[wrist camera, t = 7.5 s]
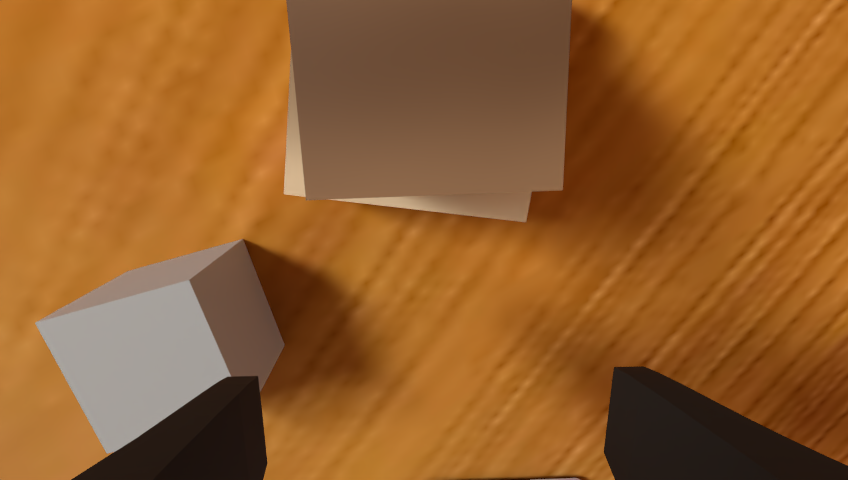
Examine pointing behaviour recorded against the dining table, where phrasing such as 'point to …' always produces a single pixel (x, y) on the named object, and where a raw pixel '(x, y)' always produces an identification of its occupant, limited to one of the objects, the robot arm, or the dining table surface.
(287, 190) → the base block
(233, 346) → the slate block
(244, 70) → the dining table surface
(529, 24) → the walnut block
